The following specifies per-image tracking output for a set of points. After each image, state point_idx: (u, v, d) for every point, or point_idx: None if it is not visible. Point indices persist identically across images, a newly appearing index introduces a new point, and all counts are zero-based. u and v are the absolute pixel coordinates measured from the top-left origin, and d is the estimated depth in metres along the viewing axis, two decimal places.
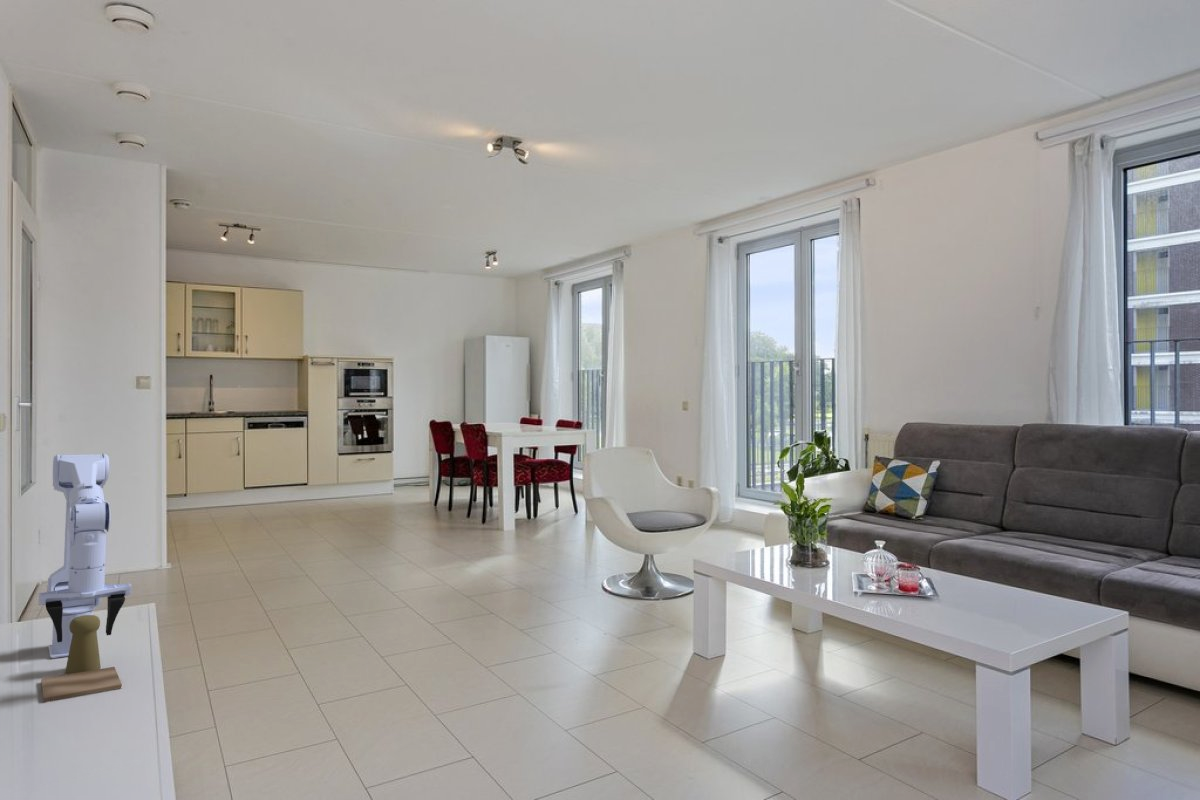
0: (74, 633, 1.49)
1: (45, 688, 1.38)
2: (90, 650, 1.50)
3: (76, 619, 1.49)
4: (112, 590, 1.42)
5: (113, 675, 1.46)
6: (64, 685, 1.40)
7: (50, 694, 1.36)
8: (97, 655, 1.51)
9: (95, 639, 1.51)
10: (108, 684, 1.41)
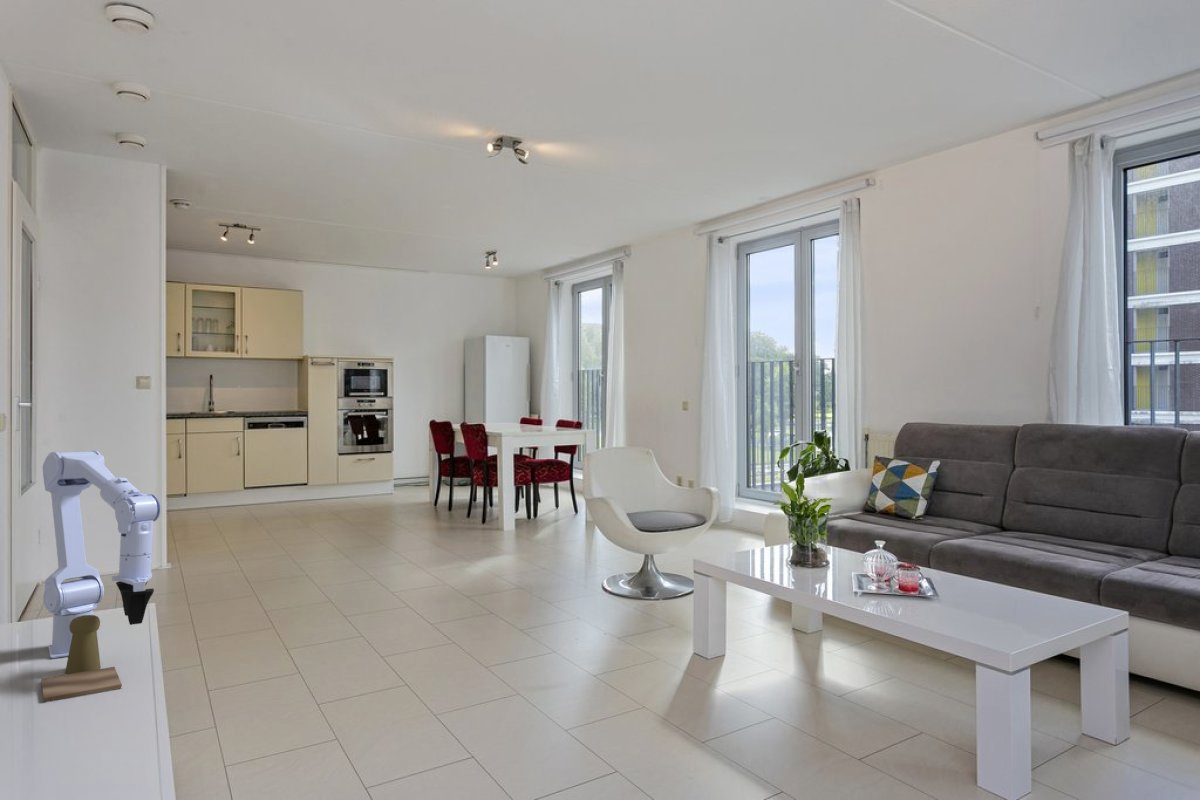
0: (74, 633, 1.49)
1: (45, 688, 1.38)
2: (90, 650, 1.50)
3: (76, 619, 1.49)
4: (127, 581, 1.48)
5: (113, 675, 1.46)
6: (64, 685, 1.40)
7: (50, 694, 1.36)
8: (97, 655, 1.51)
9: (95, 639, 1.51)
10: (108, 684, 1.41)
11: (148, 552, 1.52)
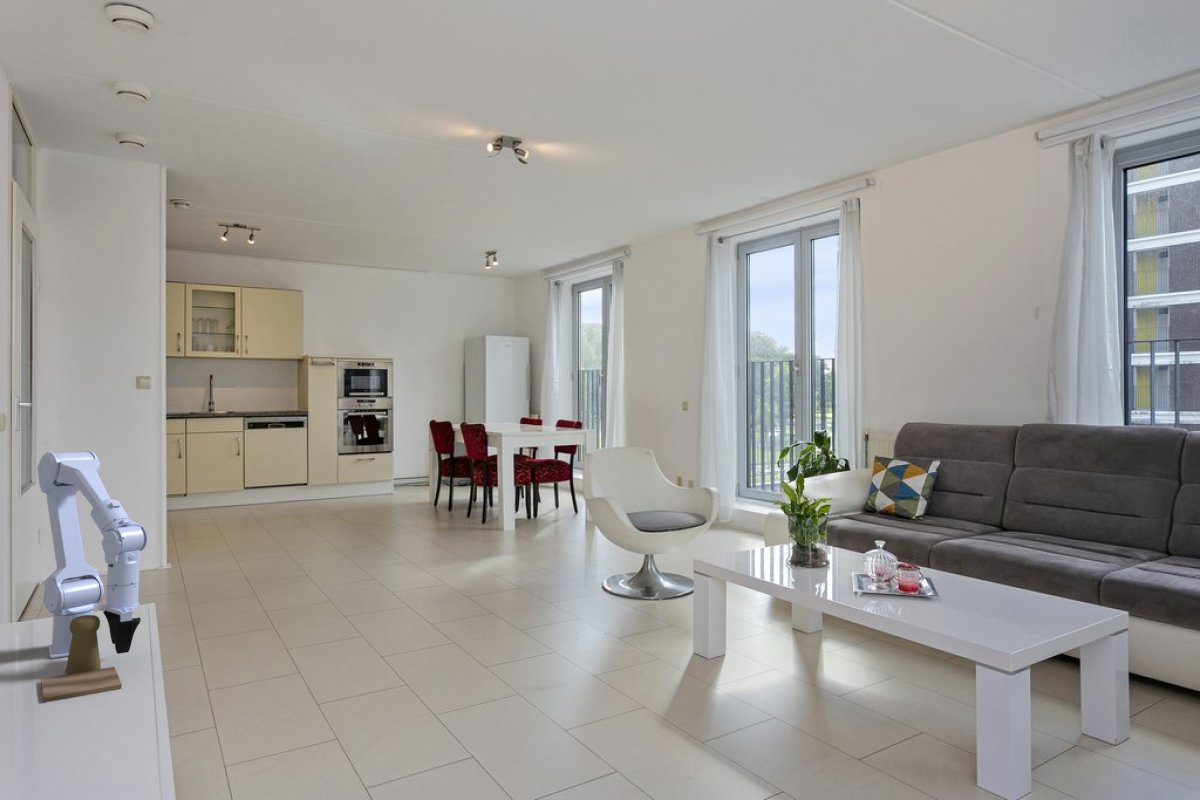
0: (74, 633, 1.49)
1: (45, 688, 1.38)
2: (90, 650, 1.50)
3: (76, 619, 1.49)
4: (114, 611, 1.51)
5: (113, 675, 1.46)
6: (64, 685, 1.40)
7: (50, 694, 1.36)
8: (97, 655, 1.51)
9: (95, 639, 1.51)
10: (108, 684, 1.41)
11: (135, 581, 1.55)
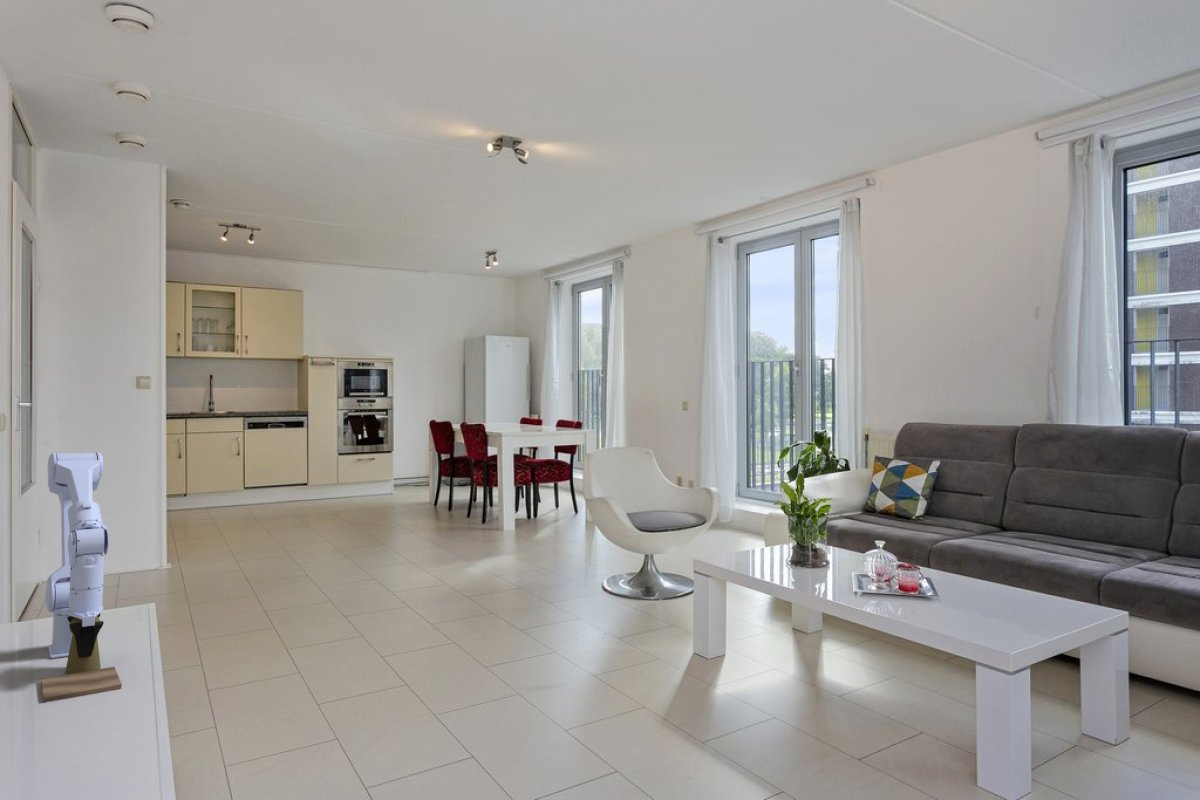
0: None
1: (45, 688, 1.38)
2: None
3: (76, 619, 1.49)
4: (76, 616, 1.47)
5: (113, 675, 1.46)
6: (64, 685, 1.40)
7: (50, 694, 1.36)
8: (97, 655, 1.51)
9: None
10: (108, 684, 1.41)
11: (94, 586, 1.50)
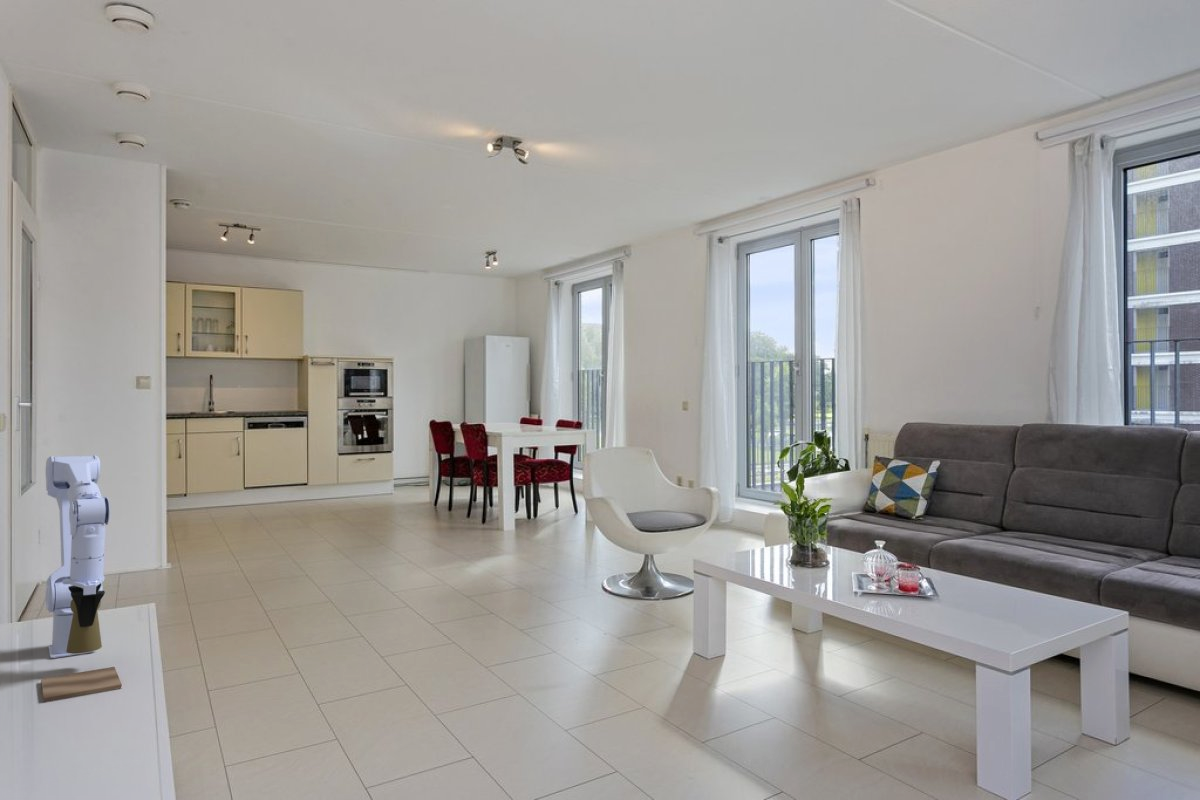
0: (75, 612, 1.49)
1: (45, 688, 1.38)
2: (92, 628, 1.50)
3: None
4: (77, 585, 1.47)
5: (113, 675, 1.46)
6: (64, 685, 1.40)
7: (50, 694, 1.36)
8: (98, 634, 1.51)
9: (96, 618, 1.51)
10: (108, 684, 1.41)
11: (95, 556, 1.50)
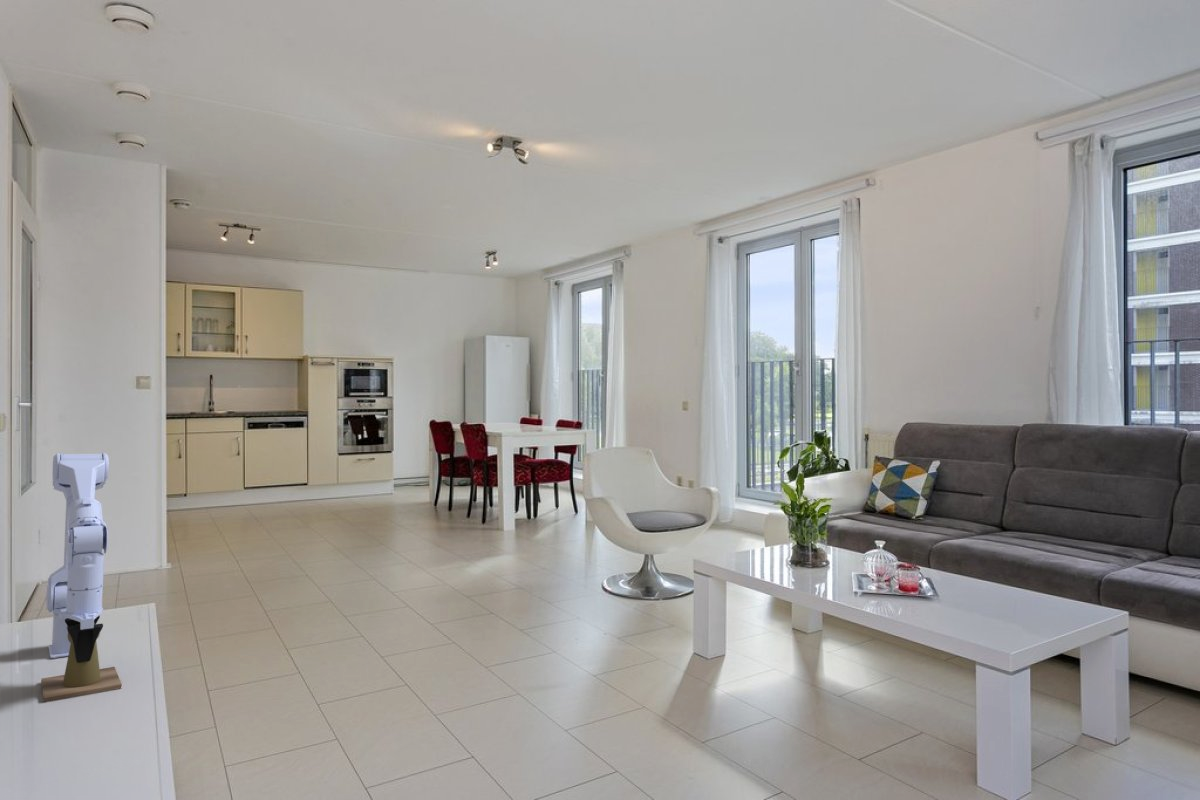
0: None
1: (45, 688, 1.38)
2: (91, 660, 1.42)
3: None
4: (74, 618, 1.38)
5: (113, 675, 1.46)
6: None
7: (50, 694, 1.36)
8: (97, 665, 1.43)
9: (95, 648, 1.43)
10: (108, 684, 1.41)
11: (92, 587, 1.41)
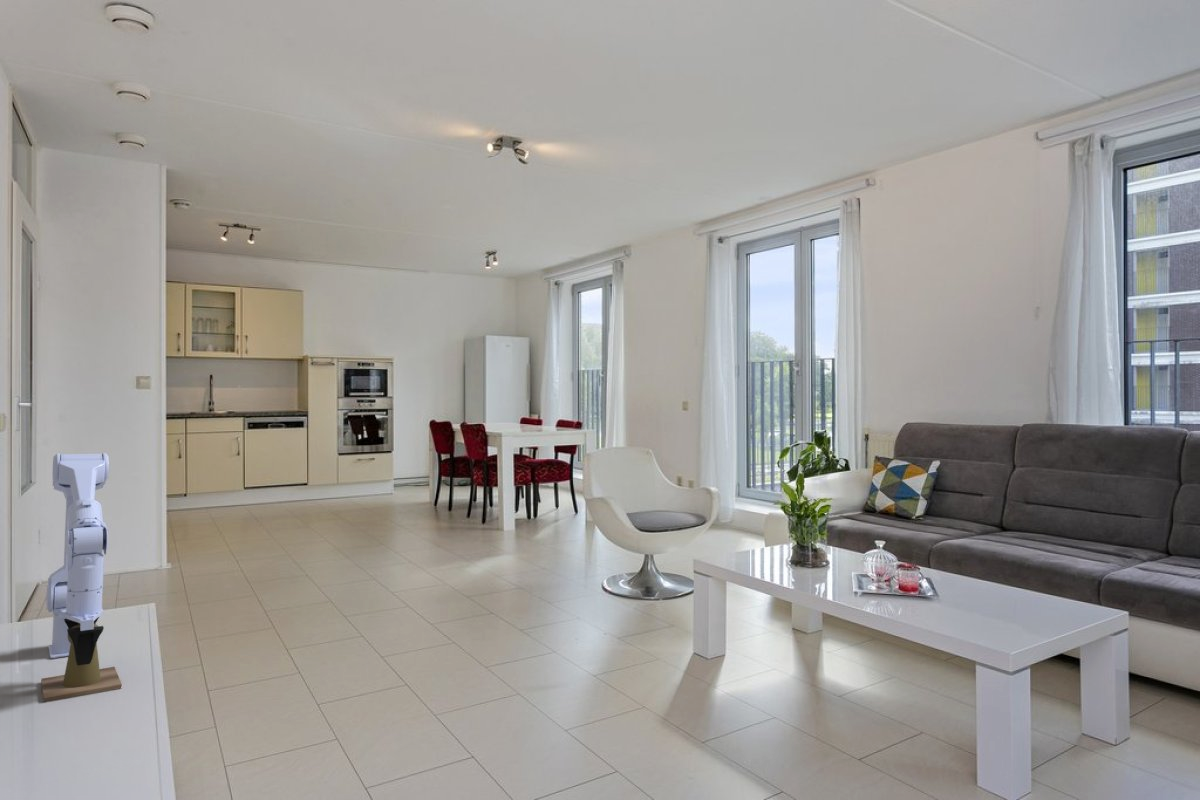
0: None
1: (45, 688, 1.38)
2: None
3: None
4: (74, 619, 1.38)
5: (113, 675, 1.46)
6: None
7: (50, 694, 1.36)
8: (97, 665, 1.43)
9: (95, 649, 1.43)
10: (108, 684, 1.41)
11: (92, 588, 1.41)
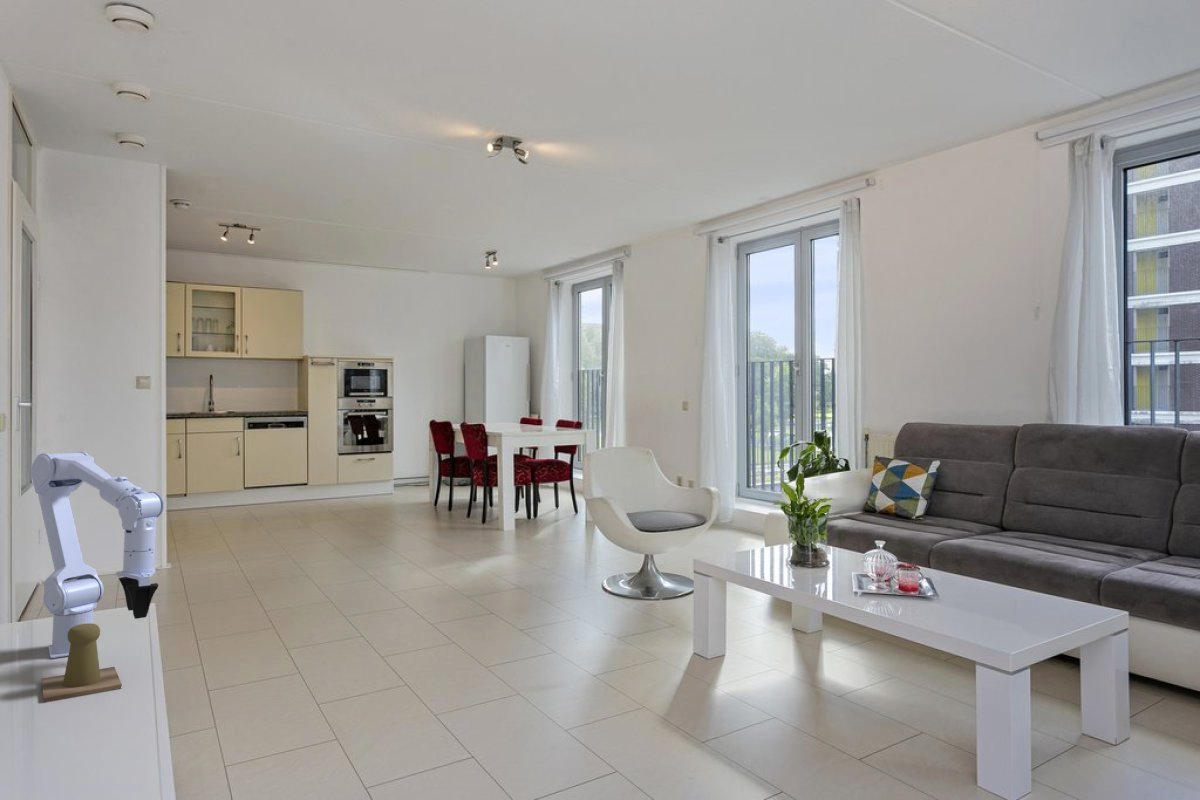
0: (73, 643, 1.40)
1: (45, 688, 1.38)
2: (91, 660, 1.42)
3: (76, 628, 1.41)
4: (132, 576, 1.52)
5: (113, 675, 1.46)
6: None
7: (50, 694, 1.36)
8: (97, 665, 1.43)
9: (95, 649, 1.43)
10: (108, 684, 1.41)
11: (152, 548, 1.56)
